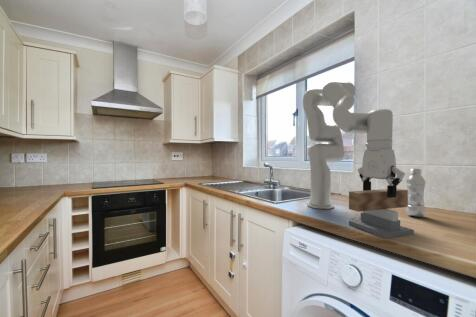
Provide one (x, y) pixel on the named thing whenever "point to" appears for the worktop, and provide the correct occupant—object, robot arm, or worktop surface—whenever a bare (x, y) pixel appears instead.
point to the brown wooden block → (377, 200)
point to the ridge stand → (381, 223)
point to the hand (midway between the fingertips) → (378, 194)
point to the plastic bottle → (415, 193)
